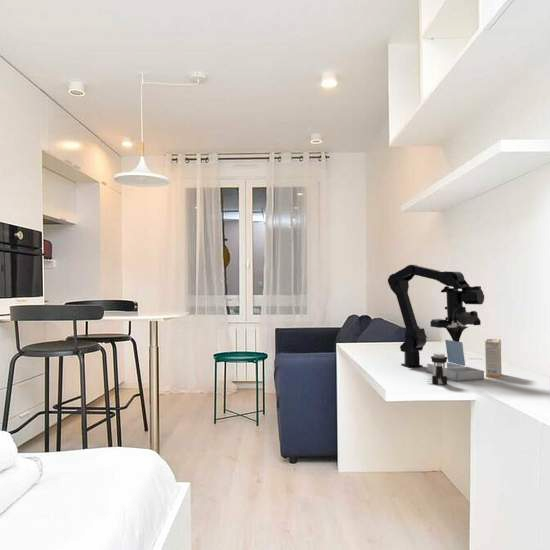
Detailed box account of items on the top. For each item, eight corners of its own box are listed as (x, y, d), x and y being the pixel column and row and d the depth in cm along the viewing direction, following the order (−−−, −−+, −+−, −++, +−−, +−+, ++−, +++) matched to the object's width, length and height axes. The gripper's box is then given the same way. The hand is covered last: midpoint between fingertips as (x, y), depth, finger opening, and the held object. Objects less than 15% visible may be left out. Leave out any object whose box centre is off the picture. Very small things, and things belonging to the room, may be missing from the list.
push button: (427, 384, 154) (427, 355, 154) (426, 381, 159) (426, 352, 159) (448, 385, 152) (448, 355, 153) (446, 382, 158) (446, 353, 158)
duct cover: (445, 339, 179) (446, 339, 180) (448, 361, 180) (449, 361, 180) (460, 342, 170) (462, 342, 171) (464, 365, 170) (465, 365, 171)
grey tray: (425, 371, 177) (425, 363, 177) (450, 369, 180) (450, 362, 180) (455, 381, 159) (455, 372, 159) (484, 379, 162) (483, 370, 162)
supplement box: (487, 372, 174) (487, 338, 174) (501, 374, 171) (501, 339, 172) (485, 376, 167) (484, 340, 167) (499, 378, 164) (499, 341, 164)
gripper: (447, 306, 165) (448, 349, 165) (490, 303, 170) (491, 345, 170) (428, 305, 176) (430, 345, 176) (469, 302, 181) (471, 342, 181)
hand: (456, 344), depth 175 cm, fingers closed
